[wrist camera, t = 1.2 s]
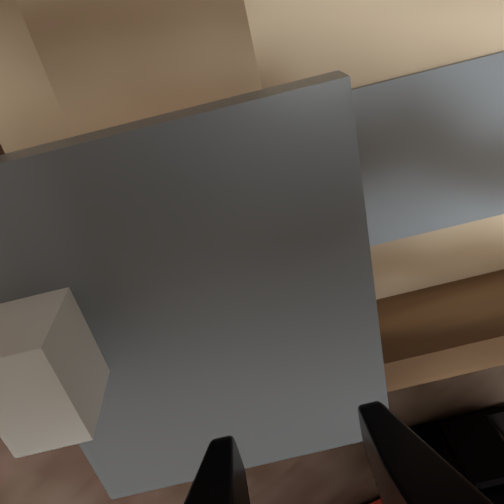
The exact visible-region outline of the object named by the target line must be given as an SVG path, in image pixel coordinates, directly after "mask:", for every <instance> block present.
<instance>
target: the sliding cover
mask: <svg viewBox="0 0 504 504" xmlns="http://www.w3.org/2000/svg"><path fill="white" fill-rule="evenodd" d="M374 401H379V402H381V403H382V404H384V405H385V406H386V407H387V408H388V409H389V405H388V396H387V388H386V379H385V371H384V362H383V353H382V345H381V336H380V328H379V319H378V311H377V302H376V294H375V285H374V277H373V268H372V260H371V251H370V243H369V234H368V226H367V217H366V209H365V200H364V192H363V183H362V175H361V166H360V158H359V149H358V141H357V132H356V124H355V115H354V107H353V98H352V90H351V81H350V76H349V75H347V74H345V73H343V72H341V71H339V70H337V71H333V72H329V73H325V74H321V75H317V76H313V77H309V78H305V79H301V80H297V81H293V82H289V83H285V84H281V85H277V86H273V87H269V88H265V89H261V90H257V91H253V92H249V93H245V94H241V95H237V96H233V97H229V98H225V99H221V100H217V101H213V102H209V103H205V104H201V105H197V106H193V107H189V108H185V109H181V110H177V111H173V112H169V113H165V114H161V115H157V116H153V117H149V118H145V119H141V120H138V121H134V122H130V123H126V124H122V125H118V126H114V127H110V128H106V129H102V130H98V131H94V132H90V133H86V134H82V135H78V136H74V137H70V138H66V139H62V140H58V141H54V142H50V143H46V144H42V145H38V146H34V147H30V148H26V149H22V150H18V151H14V152H10V153H6V154H2V155H0V437H1V439H2V440H3V442H4V443H5V445H6V446H7V447H8V449H9V450H10V452H11V453H12V455H13V456H14V457H15V458H19V457H23V456H27V455H32V454H36V453H40V452H44V451H49V450H53V449H57V448H61V447H66V446H70V445H74V444H79V446H80V447H81V449H82V451H83V453H84V454H85V456H86V458H87V459H88V461H89V463H90V464H91V466H92V468H93V469H94V471H95V473H96V475H97V476H98V478H99V480H100V481H101V483H102V485H103V486H104V488H105V490H106V491H107V493H108V495H109V497H110V498H111V500H112V499H117V498H121V497H125V496H129V495H134V494H138V493H142V492H147V491H151V490H155V489H160V488H164V487H168V486H173V485H177V484H181V483H186V482H190V481H194V478H195V476H196V474H197V471H198V469H199V467H200V464H201V462H202V460H203V457H204V455H205V452H206V450H207V448H208V445H209V443H210V442H211V441H212V440H213V439H216V438H220V437H224V436H228V435H230V436H233V437H234V439H235V442H236V444H237V447H238V450H239V453H240V456H241V459H242V461H243V465H244V468H245V469H246V468H250V467H254V466H259V465H263V464H267V463H272V462H276V461H280V460H285V459H289V458H293V457H298V456H302V455H306V454H311V453H315V452H319V451H323V450H328V449H332V448H336V447H341V446H345V445H349V444H354V443H358V442H362V441H363V439H362V434H361V428H360V422H359V416H358V406H359V405H361V404H365V403H369V402H374Z"/></svg>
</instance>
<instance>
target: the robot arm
mask: <svg viewBox="0 0 504 504" xmlns="http://www.w3.org/2000/svg"><path fill="white" fill-rule="evenodd" d="M358 416H359V422H360V428H361V434H362V439H363V443H364V447H365V450H366V453H367V456H368V460H369V463H370V466H371V469H372V472H373V475H374V478H375V482H376V485H377V488H378V491H379V494H380V497H381V501H382V504H504V406H500V407H495V408H491V409H487V410H482V411H478V412H474V413H470V414H465V415H461V416H457V417H452V418H448V419H444V420H439V421H435V422H431V423H426V424H422V425H418V426H414V427H411V428H409V427H408V426H407V425H406V424H405V423H404V422H403V421H401V420H400V419H399V418H398V417H397V416H396V415H395V414H394V413H393V412H391V411H390V410H389V409H388V408H387V407H386V406H385V405H384V404H382V403H381V402H379V401H374V402H369V403H365V404H361V405H359V406H358ZM184 504H250V500H249V493H248V486H247V479H246V473H245V468H244V465H243V461H242V459H241V456H240V453H239V450H238V447H237V444H236V442H235V439H234V437H233V436H230V435H228V436H224V437H220V438H216V439H213V440H212V441H211V442H210V443H209V445H208V448H207V450H206V452H205V455H204V457H203V460H202V462H201V464H200V467H199V469H198V471H197V474H196V476H195V478H194V481H193V483H192V486H191V488H190V490H189V493H188V495H187V497H186V500H185V502H184Z"/></svg>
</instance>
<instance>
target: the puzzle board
mask: <svg viewBox="0 0 504 504" xmlns="http://www.w3.org/2000/svg"><path fill="white" fill-rule="evenodd" d="M337 70H339V71H341V72H343V73H345V74H347V75H349V76H350V81H351V90H352V98H353V107H354V115H355V124H356V132H357V141H358V149H359V158H360V166H361V175H362V183H363V192H364V200H365V209H366V217H367V226H368V234H369V243H370V251H371V260H372V268H373V277H374V285H375V294H376V302H377V311H378V319H379V328H380V336H381V345H382V353H383V362H384V371H385V379H386V388H387V392H390V391H394V390H398V389H403V388H407V387H411V386H415V385H420V384H424V383H428V382H433V381H437V380H441V379H445V378H450V377H454V376H458V375H462V374H467V373H471V372H475V371H480V370H484V369H488V368H492V367H497V366H501V365H504V0H0V144H1V146H2V148H3V150H4V152H5V154H6V153H10V152H14V151H18V150H22V149H26V148H30V147H34V146H38V145H42V144H46V143H50V142H54V141H58V140H62V139H66V138H70V137H74V136H78V135H82V134H86V133H90V132H94V131H98V130H102V129H106V128H110V127H114V126H118V125H122V124H126V123H130V122H134V121H138V120H141V119H145V118H149V117H153V116H157V115H161V114H165V113H169V112H173V111H177V110H181V109H185V108H189V107H193V106H197V105H201V104H205V103H209V102H213V101H217V100H221V99H225V98H229V97H233V96H237V95H241V94H245V93H249V92H253V91H257V90H261V89H265V88H269V87H273V86H277V85H281V84H285V83H289V82H293V81H297V80H301V79H305V78H309V77H313V76H317V75H321V74H325V73H329V72H333V71H337Z"/></svg>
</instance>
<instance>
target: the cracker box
mask: <svg viewBox="0 0 504 504" xmlns="http://www.w3.org/2000/svg"><path fill="white" fill-rule="evenodd" d="M369 504H382V501H381V498H380V499H378V500H376V501H373V502H371V503H369Z"/></svg>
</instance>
